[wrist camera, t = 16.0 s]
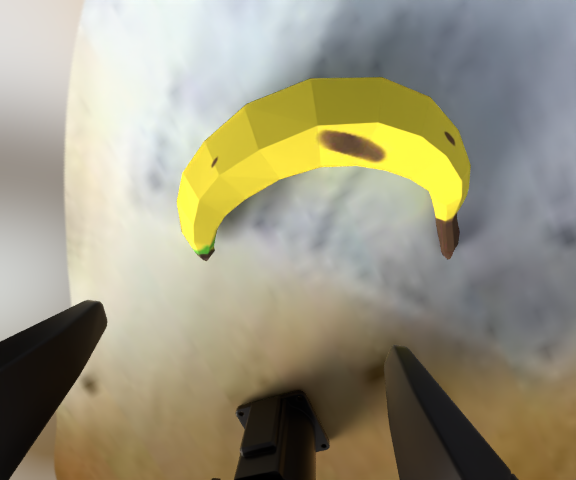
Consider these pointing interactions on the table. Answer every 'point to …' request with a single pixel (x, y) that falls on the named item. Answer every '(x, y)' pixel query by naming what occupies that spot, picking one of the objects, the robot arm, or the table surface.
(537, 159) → the table surface
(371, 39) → the table surface
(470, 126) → the table surface
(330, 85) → the banana
